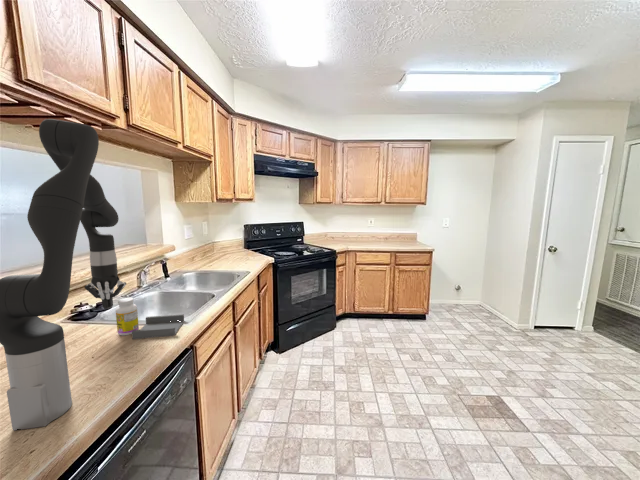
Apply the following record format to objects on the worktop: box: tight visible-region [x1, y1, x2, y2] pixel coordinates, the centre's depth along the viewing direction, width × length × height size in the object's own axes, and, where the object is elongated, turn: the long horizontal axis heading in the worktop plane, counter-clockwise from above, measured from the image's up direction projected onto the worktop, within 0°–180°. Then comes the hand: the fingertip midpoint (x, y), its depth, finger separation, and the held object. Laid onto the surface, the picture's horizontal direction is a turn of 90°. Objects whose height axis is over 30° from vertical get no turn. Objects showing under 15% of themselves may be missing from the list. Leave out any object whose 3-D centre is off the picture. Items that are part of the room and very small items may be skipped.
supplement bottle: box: [115, 297, 140, 336], centre depth 102 cm, size 7×7×13 cm
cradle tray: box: [131, 313, 185, 340], centre depth 105 cm, size 13×14×3 cm
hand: (108, 308), depth 100 cm, fingers closed
